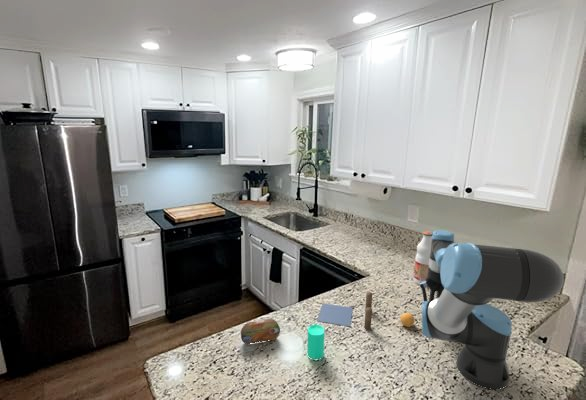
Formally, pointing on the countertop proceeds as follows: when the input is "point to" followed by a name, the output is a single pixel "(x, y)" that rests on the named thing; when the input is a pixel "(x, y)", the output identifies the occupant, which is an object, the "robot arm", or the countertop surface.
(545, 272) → the robot arm
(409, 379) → the countertop surface
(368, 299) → the post far
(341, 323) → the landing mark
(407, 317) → the ball
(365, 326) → the post near
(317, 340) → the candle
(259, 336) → the tin
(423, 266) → the fruit juice
